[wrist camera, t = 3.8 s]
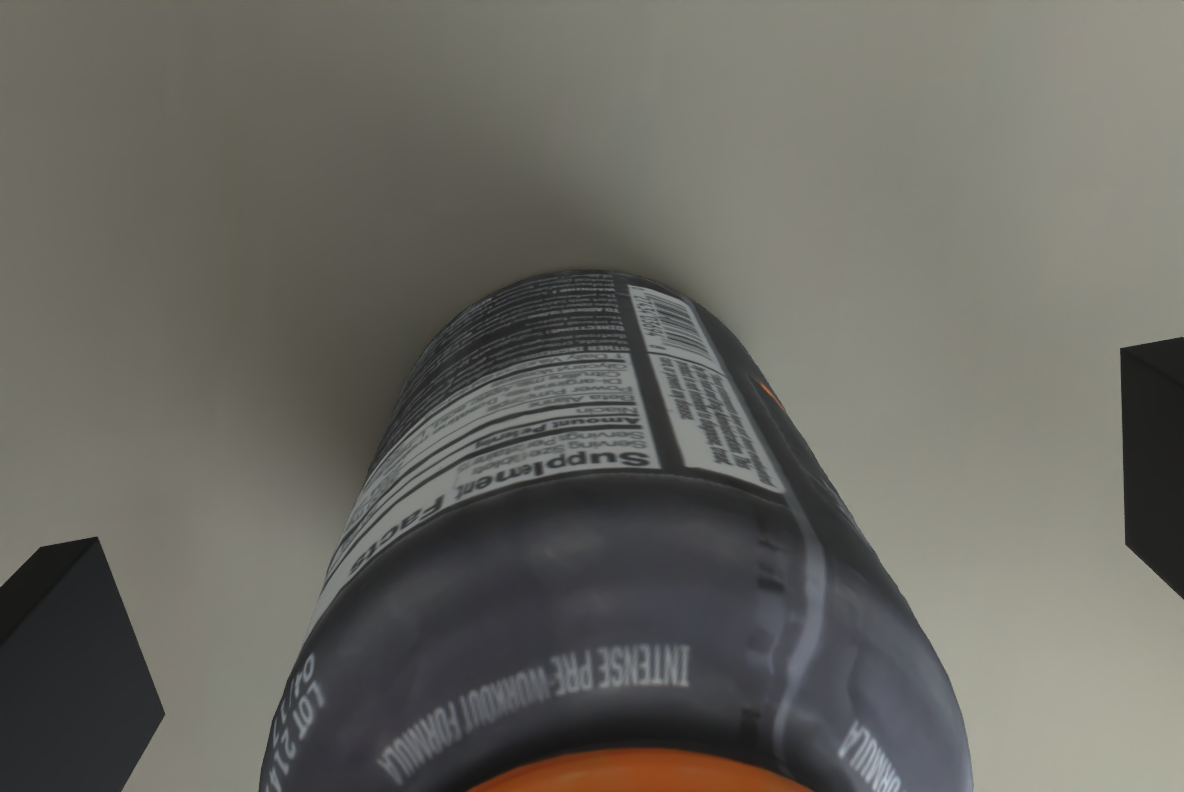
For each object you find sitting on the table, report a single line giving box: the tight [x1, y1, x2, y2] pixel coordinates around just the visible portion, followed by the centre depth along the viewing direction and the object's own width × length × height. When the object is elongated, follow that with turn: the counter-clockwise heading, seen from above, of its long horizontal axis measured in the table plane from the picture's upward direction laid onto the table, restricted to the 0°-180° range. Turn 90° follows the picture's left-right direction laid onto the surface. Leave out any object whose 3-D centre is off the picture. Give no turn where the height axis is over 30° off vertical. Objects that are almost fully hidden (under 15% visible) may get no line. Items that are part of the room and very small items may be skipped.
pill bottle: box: [259, 270, 974, 792], centre depth 11 cm, size 6×6×11 cm
